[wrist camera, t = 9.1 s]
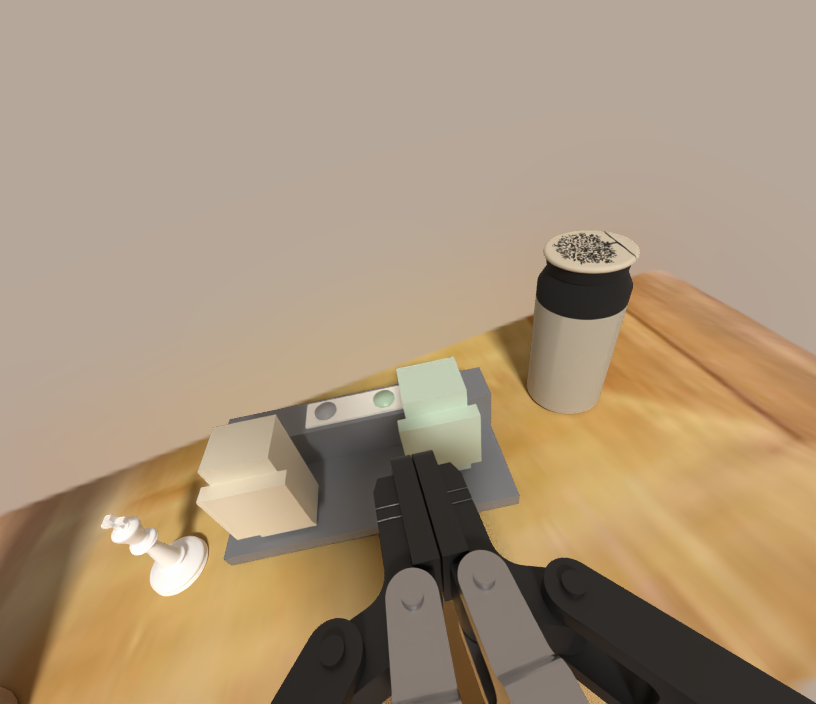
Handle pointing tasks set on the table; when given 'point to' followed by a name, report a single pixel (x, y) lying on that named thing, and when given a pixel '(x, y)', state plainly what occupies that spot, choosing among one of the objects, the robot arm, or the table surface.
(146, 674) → the table surface
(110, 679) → the table surface
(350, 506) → the console
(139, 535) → the chess piece
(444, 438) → the sage key
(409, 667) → the robot arm
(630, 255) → the travel mug
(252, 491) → the sand key
